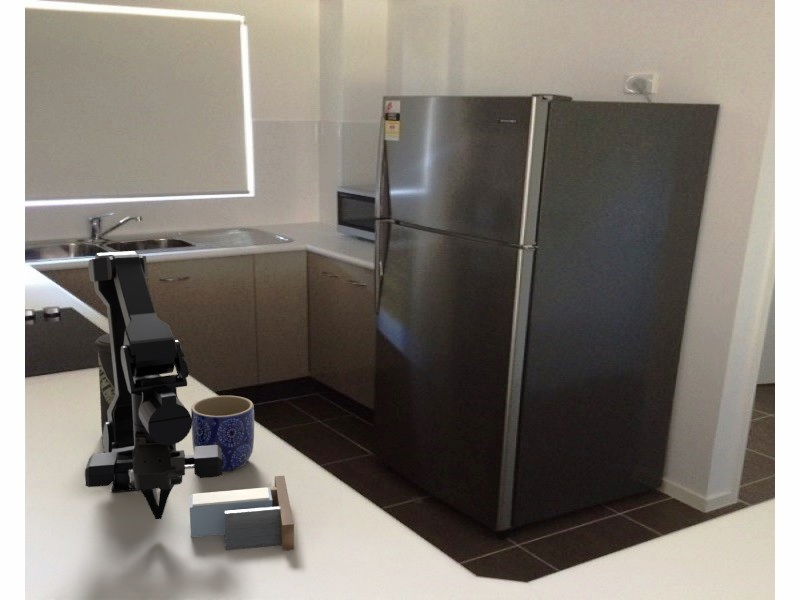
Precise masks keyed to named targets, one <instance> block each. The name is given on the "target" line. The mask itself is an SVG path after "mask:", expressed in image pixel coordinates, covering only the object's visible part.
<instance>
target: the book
mask: <svg viewBox="0 0 800 600" xmlns="http://www.w3.org/2000/svg"><path fill="white" fill-rule="evenodd" d="M270 488H271V487H257V488H256V487H255V488H244V489H233V490H222V491H211V492H199V493H193V494H190V495H189V521H190V522H189V524H190V525H189V526H190V538H198V537H207V536H209V537H210V536H218V535H225V511H230V510H242V509H253V508H265V507H272V496H271V490H270Z"/></svg>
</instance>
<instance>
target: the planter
mask: <svg viewBox="0 0 800 600" xmlns="http://www.w3.org/2000/svg"><path fill="white" fill-rule="evenodd" d="M254 408H255V407H254V402H252V400H250V399H249V398H246V397H242V396H236V395H218V396H215V395H214V396H210V397H207V398H202V399H199V400H198V401H196V402H194V403H193V404H192V405H191V408H190V415H191V418H192V427H191V440H192V448H193V452H194V451H195V446H208V445H218V446H219V447H220V448H221V452H222V473H223V472H224V473H225V472H231V471H234V470H235V471H236V470H237V469H240V468H241V467H243V466H245V465H246V464H247V462H248V461H249V460H250V458H251V456H252V454H253V451H254V442H255V409H254Z"/></svg>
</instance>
